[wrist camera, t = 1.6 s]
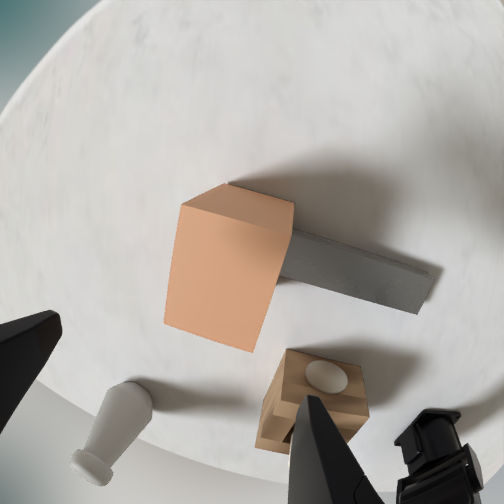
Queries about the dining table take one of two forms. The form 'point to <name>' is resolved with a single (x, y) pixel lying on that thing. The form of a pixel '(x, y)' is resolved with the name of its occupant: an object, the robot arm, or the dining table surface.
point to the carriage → (227, 264)
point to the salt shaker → (113, 431)
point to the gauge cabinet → (313, 383)
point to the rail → (355, 272)
